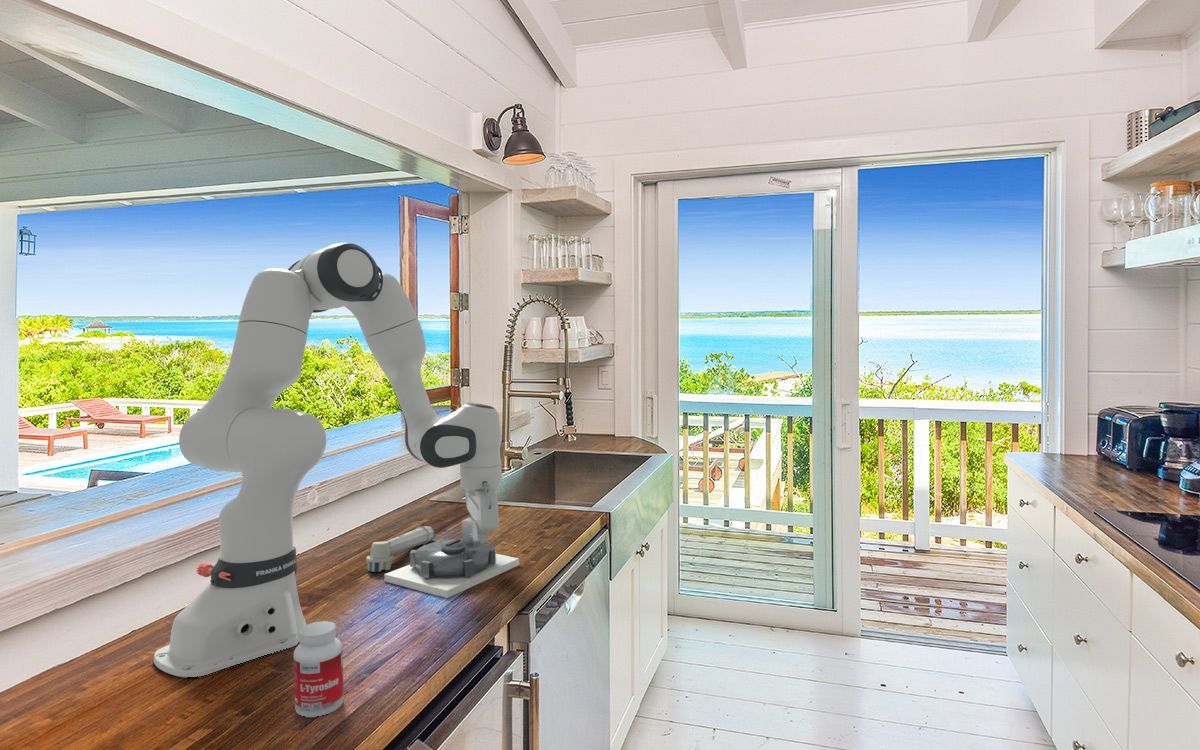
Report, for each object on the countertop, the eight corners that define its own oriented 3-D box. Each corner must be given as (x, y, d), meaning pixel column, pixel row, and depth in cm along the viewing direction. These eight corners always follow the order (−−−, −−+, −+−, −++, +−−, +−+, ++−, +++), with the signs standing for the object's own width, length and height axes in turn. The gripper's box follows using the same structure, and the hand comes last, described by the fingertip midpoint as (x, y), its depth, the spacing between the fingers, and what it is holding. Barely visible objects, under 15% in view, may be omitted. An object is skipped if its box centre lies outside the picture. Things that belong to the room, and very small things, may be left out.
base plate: (447, 598, 130) (446, 589, 130) (384, 581, 140) (384, 573, 140) (519, 565, 149) (518, 557, 149) (459, 552, 158) (459, 545, 158)
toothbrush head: (437, 525, 168) (383, 541, 144) (436, 552, 168) (382, 572, 143) (418, 524, 169) (361, 539, 145) (417, 551, 169) (360, 571, 145)
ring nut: (457, 583, 132) (456, 543, 132) (394, 571, 140) (393, 533, 139) (506, 557, 148) (506, 522, 147) (447, 548, 155) (446, 514, 155)
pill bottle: (295, 723, 88) (291, 641, 87) (295, 701, 94) (292, 623, 93) (345, 712, 90) (342, 632, 90) (342, 691, 96) (340, 615, 95)
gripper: (505, 486, 136) (506, 553, 136) (487, 468, 155) (488, 527, 156) (474, 488, 134) (475, 557, 134) (459, 470, 153) (461, 530, 154)
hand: (482, 541), depth 145 cm, fingers closed
